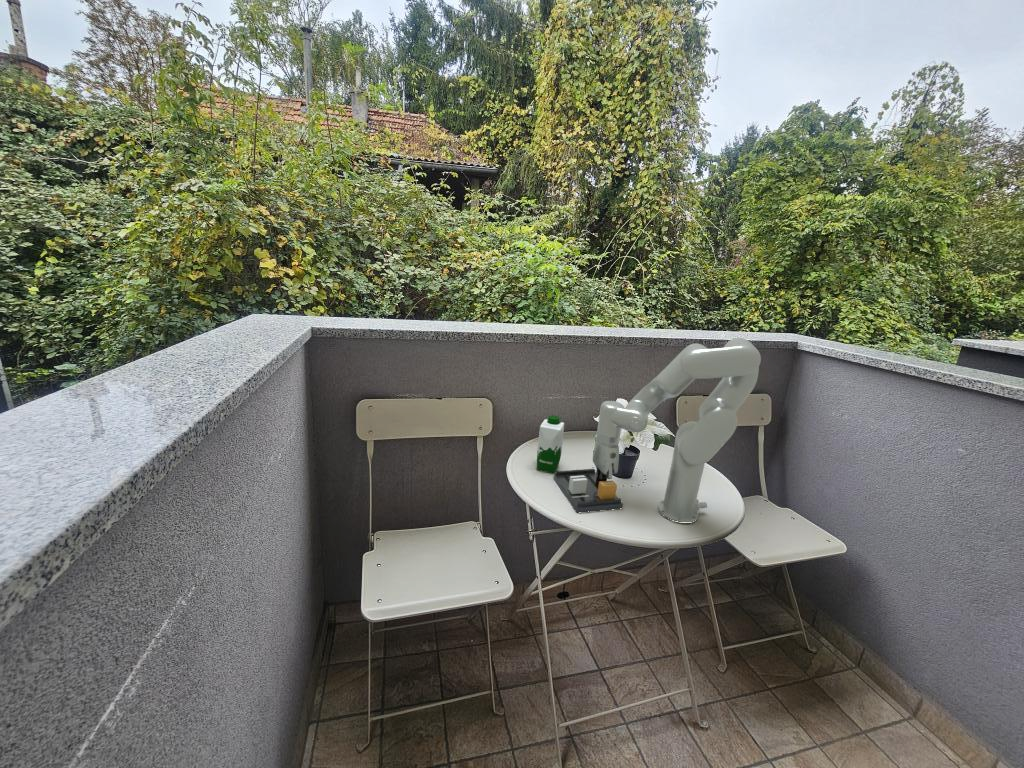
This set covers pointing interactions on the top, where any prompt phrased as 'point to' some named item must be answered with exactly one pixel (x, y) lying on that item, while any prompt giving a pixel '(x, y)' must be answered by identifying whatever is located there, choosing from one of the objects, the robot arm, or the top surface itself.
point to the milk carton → (550, 444)
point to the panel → (590, 498)
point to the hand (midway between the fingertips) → (600, 486)
